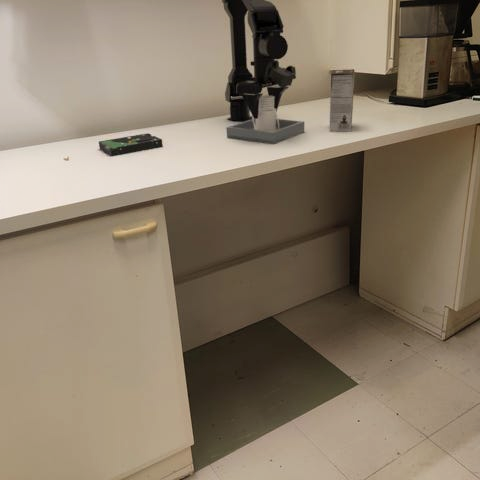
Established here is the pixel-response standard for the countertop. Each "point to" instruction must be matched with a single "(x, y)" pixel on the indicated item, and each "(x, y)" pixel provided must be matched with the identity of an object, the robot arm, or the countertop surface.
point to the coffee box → (341, 100)
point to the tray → (250, 134)
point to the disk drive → (130, 144)
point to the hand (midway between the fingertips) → (265, 115)
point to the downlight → (266, 115)
